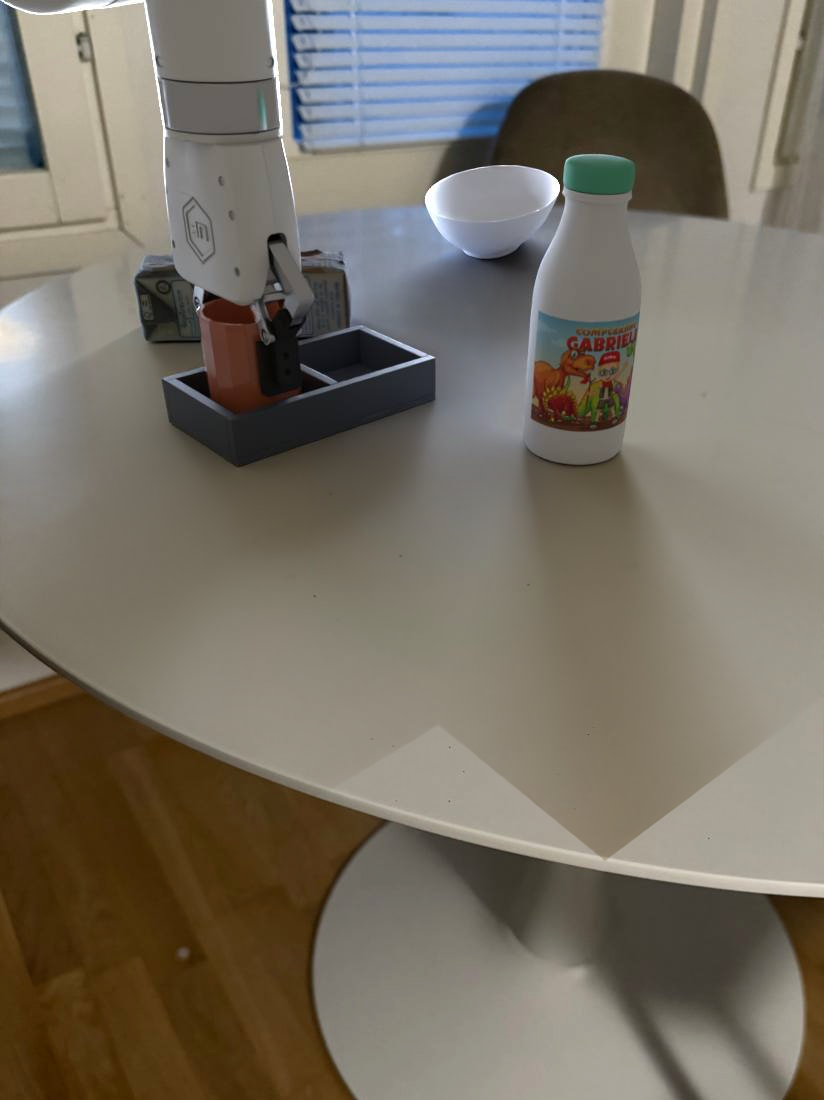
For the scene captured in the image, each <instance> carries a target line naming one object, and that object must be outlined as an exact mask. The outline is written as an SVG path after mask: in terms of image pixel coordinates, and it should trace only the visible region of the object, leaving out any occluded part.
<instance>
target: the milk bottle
mask: <svg viewBox="0 0 824 1100" xmlns="http://www.w3.org/2000/svg"><path fill="white" fill-rule="evenodd" d="M563 166H564V167H563V179H562V183H563V189H562V192H561V194H562V196H563V197H564V209H563V213H562V216H561V219H560V221H559V224H558V227H557V230H556V231H555V233H554V236H553V238H552V240H551V242H550V244H549V246H548V248H547V250H546V252H545V254H544V256H543V258H542V259H541V263H540V265H539V268H538V269H537V275H536V279H535V281H534V282H535V283H534V286H533V291H532V300H531V311H530V322H529V334H528V347H527V350H528V351H527V360H526V361H527V362H526V376H525V391H524V406H523V419H522V420H523V421H522V427H523V428H522V439H523V441H524V444H525V446H526V448H527V449H528V450H529V451H530V452H531V453H533V454H535V455H536V456H537V457H540V458H542V459H544V460H548V461H550V462H552V463H553V462H554V463H559V464H563V465H575V466H576V465H577V466H578V465H579V466H580V465H581V466H582V465H593V464H599V463H602V462H605V461H608V460H610V459H612V458H614V457H615V456H616V455H617V454H618V452H620V450H621V448H622V446H623V443H624V438H625V430H626V425H627V417H628V410H629V402H630V395H631V387H632V381H633V380H632V379H633V372H634V364H635V359H636V358H635V357H636V350H637V342H638V341H637V340H638V332H639V325H640V314H641V303H642V281H641V280H642V279H641V274H640V267H639V263H638V261H637V257H636V254H635V250H634V247H633V246H634V245H633V243H632V239H631V234H630V229H629V221H628V205H629V201H631V200H632V199H633V194H632V192H633V188H634V185H635V178H636V164H635V163H634V161H632V160H630V159H628V158H625V157H621V156H616V155H609V154H601V153H599V154H596V153H594V154H593V153H591V154H589V153H587V154H578V155H577V154H576V155H573V156H570V157H568V158H567V159H565V162H564V165H563Z"/></svg>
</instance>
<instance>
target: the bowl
mask: <svg viewBox="0 0 824 1100" xmlns="http://www.w3.org/2000/svg"><path fill="white" fill-rule="evenodd" d="M559 193H560V184H559V182H558V179H556V177H554V176H553V175H551V173H548V172H546V171H544V170H541V169H539V168H534V167H529V166H523V165H509V164H507V165H505V164H504V165H488V166H481V167H476V168H471V169H467V170H463V171H460V172H456V173H454V174H451V175H449V176H447V177H445V178H443V179H441V180H439V181H438V182H436V183H435V184H433V185H432V186H431V188H429V190H428V191H427V192H426V194H425V199H424V202H425V206H426V209H427V211H428V214H429V216H430V218H431V220H432V222H433V224H434V226H435V227H436V229H437V231H438V232H439V233H440V234H441V236H442V237H443V238H444V239H445V240H446V241H448V242H449V243H450V244H452V246H455V247H456V248H458V249H459V250H461V251H462V252H464V253H465V254H466V255H468V257H472V258H476V259H483V260H489V259H497V258H501V257H504V256H508V255H510V254H512V253H513V252H515V251H516V250H517V249H518V248H519V247H520V246H521V245H522V244H523V243H525V242H526V241H527V240H529V239H530V238H531V237H532V236H534V234H535V233H536V232H537V231H538V230H539V229H540V228H541V227H542V226H543V224H544V223H545V222H546V220H547V219H548V217H549V215H550V213H551V211H552V209H553V207H554V205H555V203H556V201H557V199H558V197H559Z"/></svg>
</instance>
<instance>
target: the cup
mask: <svg viewBox="0 0 824 1100" xmlns="http://www.w3.org/2000/svg"><path fill="white" fill-rule="evenodd" d="M265 306H266V309H267V312H268V314H269V317H270V320H272V319H273V317H274V316H275V314H276V312H277V311H278V310H279V309H280V308H279V305H278V302H277V303H272V304H268V305H265ZM196 312H197V318H198V325H199V332H200V338H201V340H200V345H201V351H202V358H203V365H204V367H205V372H206V379H207V385H208V392H209V399H210V400H212V401H214V402H215V403H217V404H219V405H220V406H222V407H224V408H225V409H227V410H229V411H231V412H232V413H234V414H238V413H242V412H245V411H248V410H252V409H255V408H258V407H261V406H265V405H268V404H271V403H274V402H278V401H281V400H284V399H288V398H291V397H294V396H297V395H301V394H302V391H301V387H300V388H299V389H296V390H292V391H289V392H286V393H282V394H279V395H276V396H272V397H266V396H265V395H263V394H262V393H261V386H260V378H259V369H258V360H257V352H256V343H255V342H257V341H261V337H260V334H259V331H258V328H257V326H256V323H255V320H254V317H253V314H252V311H251V308H250V305H246V306H240V305H237V304H234V303H232V302H230V301H228V300H225V299H223V298H217V299H213V300H210V301H208V302H206V303H204V304H202V305H201V306H200V307H199V308H198V310H197V311H196Z"/></svg>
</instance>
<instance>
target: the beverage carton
mask: <svg viewBox="0 0 824 1100" xmlns="http://www.w3.org/2000/svg"><path fill="white" fill-rule="evenodd" d="M300 255H301V273H302V275H303V276H304V278H305V280H306V281H307V283H308V285H309V287H310V288H311V290H312V292H313V294H314V303H313V305H312V307H311V308H310V310H309V312H308V314H307V315H306V317H307V318H306V322H305V323H304V324H303V326H302V335H301V336H300V337H299V338H313V337H317V336H321V335H325V334H328V333H332V332H336V331H340V330H343V329H347V328H351V323H352V303H353V300H352V286H351V278H350V273H349V268H348V263H347V260H346V255H345V252H344V251H343V250H340V251H324V250H323V251H322V250H321V249H318V248H315V249H310V250H305V251H304V250H303V251H300ZM132 282H133V283H132V284H133V288H134V291H135V295H136V300H137V307H138V315H139V321H140V324H141V329H142V333H143V337H144V339H145V341H146V342H163V341H164V342H165V341H201V338H200V332H199V325H198V318H197V312H196V311H197V309H196V308H195V306H194V303H193V294H194V290H193V288H192V286H191V285H190V283H189V281H187V280H185V279H184V278H183V277H182V276H181V275H180V274H179V273H178V272H177V270H176V268H175V264H174V259H173V254H147V255H145V256H144V258H143V260H142V262H141V264H140V266H139V268H138V270H137V271H136V273H135V274H134V276H133V281H132ZM275 291H276V290H275V289H272V288H270V287H268V286H265V289H264V292H263V294H267V293H271V292H275Z"/></svg>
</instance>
